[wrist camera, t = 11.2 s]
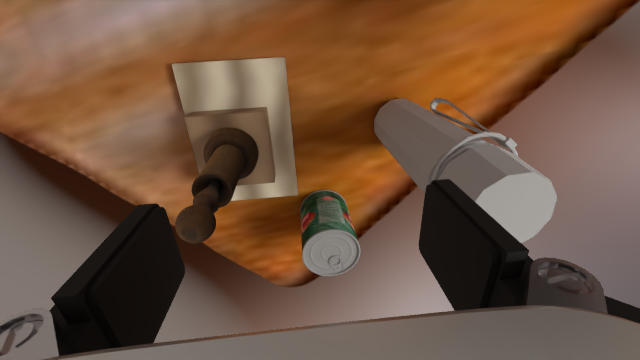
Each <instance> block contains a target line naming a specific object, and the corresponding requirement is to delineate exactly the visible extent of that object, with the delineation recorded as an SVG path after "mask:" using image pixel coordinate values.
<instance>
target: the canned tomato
mask: <svg viewBox="0 0 640 360" xmlns="http://www.w3.org/2000/svg"><path fill="white" fill-rule="evenodd" d="M300 214H301V235H302V236H301V237H302V258H303V262H304V264H305V265H306V267H307V268H308V269H309V270H311V271H312V272H314V273H316V274H319V275H322V276H335V275H339V274H343V273H344V272H347V271H348V270H350V269H351V268H352V267H353V266H354V265H355V264H356V263H357V261H358V259H359V257H360V245H359V243H358V240H357V237H356V234H355V230H354V227H353V224H352V221H351V218H350V215H349V212H348V209H347V204H346V202H345V200H344V198H343V197H342V196H341V195H340V194H338V193H337V192H334V191H331V190H318V191H315V192H313V193H311V194H309V195H308V196H307V197H306V198H305V199H304V201H303V202H302V204H301V208H300Z"/></svg>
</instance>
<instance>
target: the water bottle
mask: <svg viewBox="0 0 640 360" xmlns="http://www.w3.org/2000/svg"><path fill="white" fill-rule="evenodd" d="M438 103H446V104H450V105H451V106H452V107H454V108H455V109H457V110H458V111H459V112H461V113H462V114H464V115H465V116H466V117H468V118H469V119H470V120H472V121H473V122H475V123H476V124H477V125H479V126H480V127H481V128H483V129H484V130H486V131H487V132H483V131H481V130H479V129H477V128H475V127H472V126H470V125H468V124H466V123H463V122H461V121H459V120H457V119H455V118H452V117H450V116H448V115H446V114H443V113H441V112H439V111H437V110H435V108H436V106H437V104H438ZM430 109H431V110H432V111H433V112H434V113H436V114H438V115H440V116H442V117H444V118H447V119H449V120H451V121H453V122H456V123H458V124H460V125H462V126H465V127H467V128H469V129H471V130H474V131H476V132H478V134H475V135H473V134H472V133H470V132H468V131H466V130H464V129H462V128H460V127H459V126H457V125H455V124H453V123H451V122H449V121H447V120H445V119H444V118H442V117H440V116H438V115H436V114H434V113H432V112H431V111H429V110H427V109H425V108H423V107H421V106H419V105H417V104H416V103H414V102H411V101H409V100H407V99H405V98H402V99H394V100H390V101H389V102H388V103H386V104H385V105H384V106H382V107H381V108H380V109H379V111H378V113H377V115H376V117H375V119H374V132H375V134H376V135H377V137H378V138H379V140H380V141H381V143H382V144H383V145H384V146H385V147H386V149H387V150H388V151H389V152H390V153H391V154H392V156H393V157H394V158H395V159H396V160H397V162H398V163H399V164H400V165H401V166H402V167H403V169H404V170H405V171H406V172H407V173H408V175H409V176H410V177H411V178H412V179H413V180H414V182H415V183H416V184H417V185H418V186H419V188H420V189H421V190H422V191H423V192H424V194H425V191H426V186H427V185H428V184H431V182H432V181H433V180H441V179H450V180H451V181H452V182H454V183H455V184H456V185H457V186H458V187H459V188H460V189H461V190H462V191H464V192H465V193H466V194H467V195H468V196H469V197H470V198H471V199H472V200H474V201H475V202H476V203H477V204H478V205H479V206H480V207H481V208H482V209H484V210H485V211H486V212H487V213H488V214H489V215H490V216H491V217H492V218H494V219H495V220H496V221H497V222H498V223H499V224H500V225H501V226H502V227H504V228H505V229H506V230H507V231H508V232H509V233H510V234H511V235H512V236H514V237H515V238H516V239H517V240H518V241H519V242H520V243H522V242H524V241H526V240H528V239H529V238H532V237H533V236H535V235H536V234H537V233H538V232H539V231H540V230H541V228H542V227H543V226H544V225H545V224H546V223H547V222H548V220H550V218H551V216H552V213H553V210H554V207H555V203H556V200H557V196H556V193H555V190H554V188H553V185H552V183H551V180H549V179H547V178H546V177H545V176H544V175H542V174H541V173H539V172H538V171H537V170H535V169H534V168H532V167H531V166H529V165H528V164H527V163H525V162H524V161H523V160H521V159H520V158H518V154H517V152H516V150H515V147H516V146H517V144H516V143H515V142H514V141H513V140H512V139H511V138H509V137H504V136H503V135H501V134H500V133H493V132H490V131H489V130H488V129H486V128H485V127H484V126H482V125H481V124H479V123H478V122H477V121H475V120H474V119H473V118H471V117H470V116H469V115H467V114H466V113H464V112H463V111H462V110H460V109H459V108H458V107H456V106H455V105H453V104H452V103H451V102H449V101H448V100H446V99H442V98H435V99H434V100H433V101H432V102H431V103H430ZM480 137H490V138H492V139H494V140H496V141H497V142H498V143H499V144H500V145H502V146H504V147H506V148H508V149H510V151H511V152H509V151H507V150H504V149H502V148H500V147H498V146H496V145H493V144H490V143H488V142H487V141H485V140H483V139H481V138H480Z"/></svg>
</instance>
